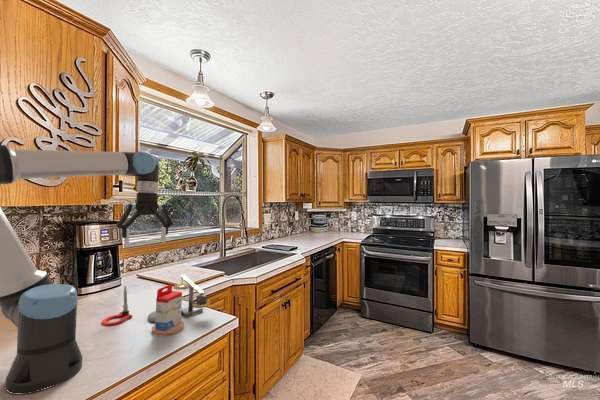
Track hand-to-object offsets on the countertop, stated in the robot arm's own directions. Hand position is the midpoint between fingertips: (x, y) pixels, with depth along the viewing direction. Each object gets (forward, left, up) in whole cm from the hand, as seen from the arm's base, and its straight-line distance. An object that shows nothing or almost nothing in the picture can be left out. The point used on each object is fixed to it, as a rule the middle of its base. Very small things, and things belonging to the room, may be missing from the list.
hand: (145, 244), depth 107 cm
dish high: (+7, -3, -31) cm, 32 cm away
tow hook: (-7, +7, -31) cm, 33 cm away
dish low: (+4, -15, -31) cm, 34 cm away
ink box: (+4, -15, -30) cm, 33 cm away
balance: (+17, -7, -31) cm, 36 cm away
